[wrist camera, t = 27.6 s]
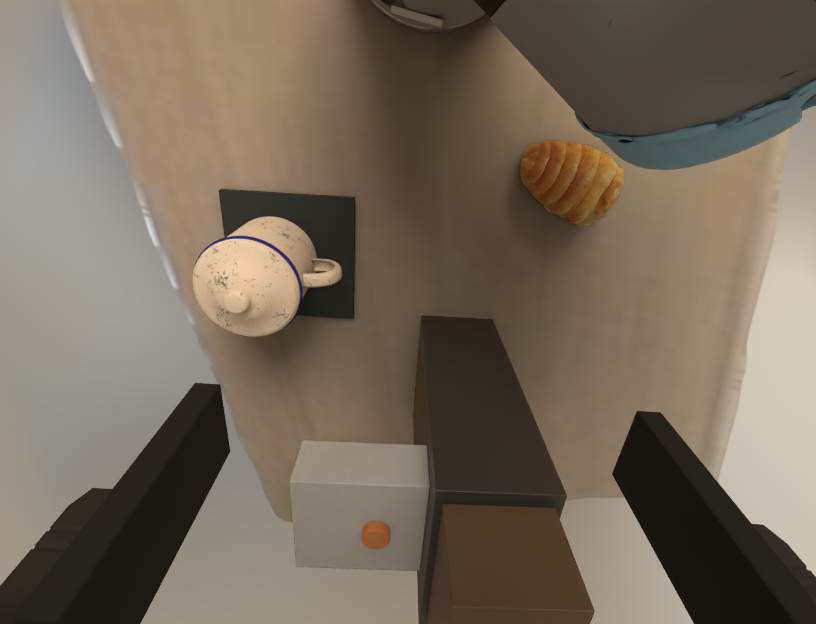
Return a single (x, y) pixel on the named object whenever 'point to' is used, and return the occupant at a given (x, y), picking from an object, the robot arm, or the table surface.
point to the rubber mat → (323, 224)
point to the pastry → (572, 179)
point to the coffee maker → (449, 494)
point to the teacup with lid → (259, 276)
